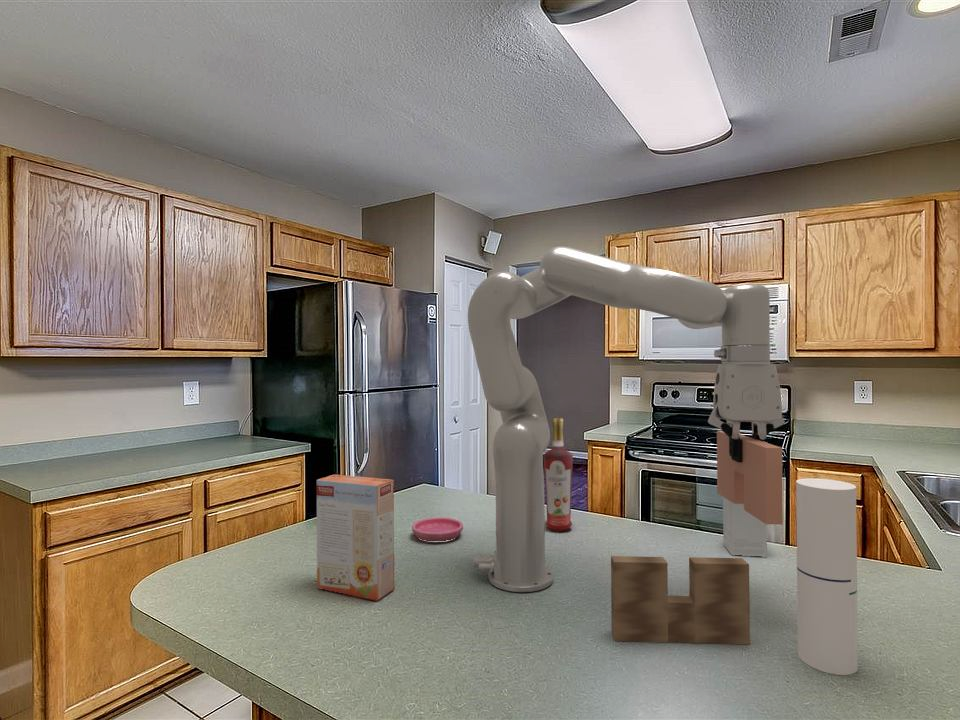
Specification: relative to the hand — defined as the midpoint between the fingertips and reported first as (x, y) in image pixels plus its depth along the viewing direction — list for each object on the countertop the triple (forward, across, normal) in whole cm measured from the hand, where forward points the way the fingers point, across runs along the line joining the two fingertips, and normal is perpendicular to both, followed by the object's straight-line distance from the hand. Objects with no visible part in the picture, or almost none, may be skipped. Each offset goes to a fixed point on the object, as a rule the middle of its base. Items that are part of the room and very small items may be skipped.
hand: (746, 460), depth 93 cm
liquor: (+25, -29, +40) cm, 56 cm away
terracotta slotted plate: (+8, 0, 0) cm, 8 cm away
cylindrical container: (+25, +4, -18) cm, 31 cm away
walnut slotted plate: (+25, -16, -13) cm, 32 cm away
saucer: (+26, -59, +34) cm, 73 cm away
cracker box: (+26, -70, +3) cm, 75 cm away
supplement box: (+25, +11, +26) cm, 38 cm away
